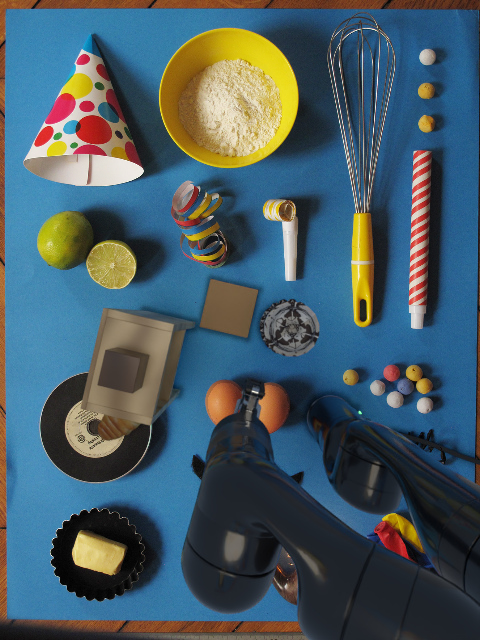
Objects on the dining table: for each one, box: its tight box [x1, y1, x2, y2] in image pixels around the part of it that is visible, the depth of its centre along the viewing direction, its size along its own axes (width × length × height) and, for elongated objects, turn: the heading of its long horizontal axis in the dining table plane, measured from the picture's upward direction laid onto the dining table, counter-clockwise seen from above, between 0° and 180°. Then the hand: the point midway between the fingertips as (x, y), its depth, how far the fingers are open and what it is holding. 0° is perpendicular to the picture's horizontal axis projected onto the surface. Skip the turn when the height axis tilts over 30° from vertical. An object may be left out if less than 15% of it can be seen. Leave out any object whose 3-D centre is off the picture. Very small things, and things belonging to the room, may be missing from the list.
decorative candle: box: [259, 298, 320, 357], centre depth 73 cm, size 9×9×25 cm
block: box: [97, 347, 149, 394], centre depth 59 cm, size 5×5×5 cm
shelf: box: [79, 307, 196, 427], centre depth 74 cm, size 11×15×24 cm
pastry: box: [97, 414, 143, 442], centre depth 84 cm, size 9×7×4 cm
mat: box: [199, 278, 259, 339], centre depth 85 cm, size 10×10×1 cm
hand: (241, 419), depth 64 cm, fingers open, 8 cm apart
